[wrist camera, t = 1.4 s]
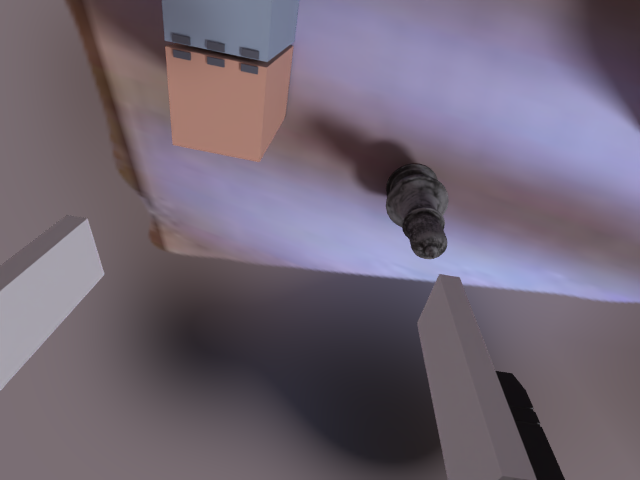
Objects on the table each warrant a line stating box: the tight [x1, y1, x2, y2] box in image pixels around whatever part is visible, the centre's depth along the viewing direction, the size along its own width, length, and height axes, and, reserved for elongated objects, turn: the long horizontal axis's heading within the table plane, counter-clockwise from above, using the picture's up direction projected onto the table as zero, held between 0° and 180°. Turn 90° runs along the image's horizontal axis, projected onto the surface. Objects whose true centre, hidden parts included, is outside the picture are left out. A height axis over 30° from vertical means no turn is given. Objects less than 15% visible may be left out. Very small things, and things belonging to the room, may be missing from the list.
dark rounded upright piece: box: [386, 164, 448, 259], centre depth 31 cm, size 6×6×12 cm
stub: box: [165, 43, 293, 162], centre depth 26 cm, size 6×6×11 cm
